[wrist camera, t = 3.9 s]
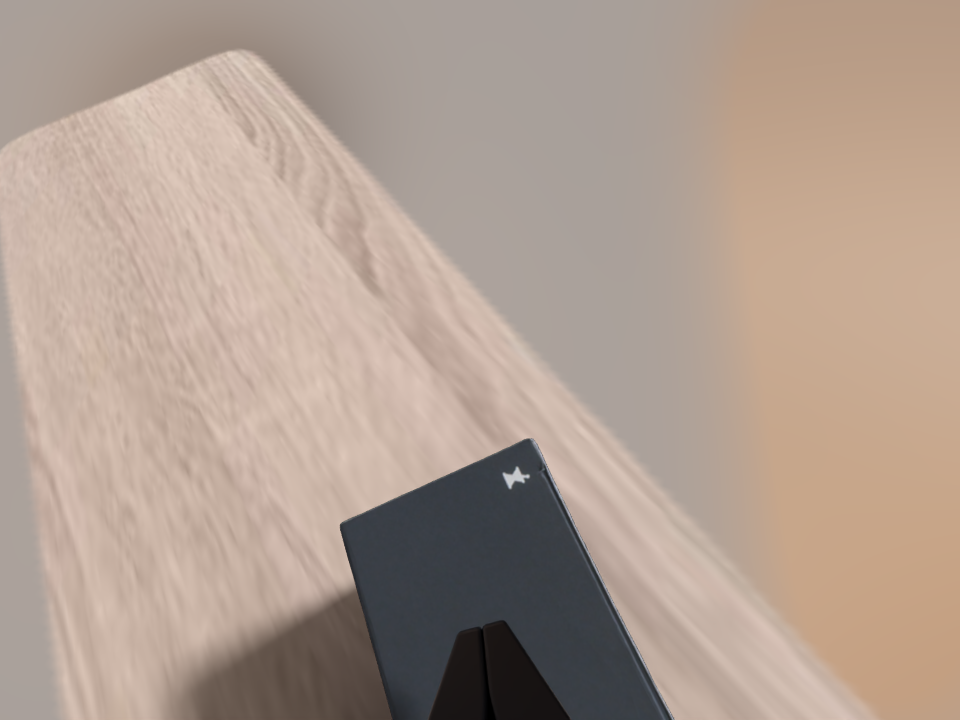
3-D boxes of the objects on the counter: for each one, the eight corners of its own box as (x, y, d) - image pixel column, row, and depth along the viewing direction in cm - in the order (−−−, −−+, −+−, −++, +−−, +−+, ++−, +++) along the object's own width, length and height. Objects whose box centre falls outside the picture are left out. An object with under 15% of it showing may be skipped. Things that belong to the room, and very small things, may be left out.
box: (417, 552, 21) (332, 517, 12) (532, 500, 22) (537, 427, 13) (486, 759, 18) (442, 941, 8) (620, 691, 19) (719, 789, 9)
